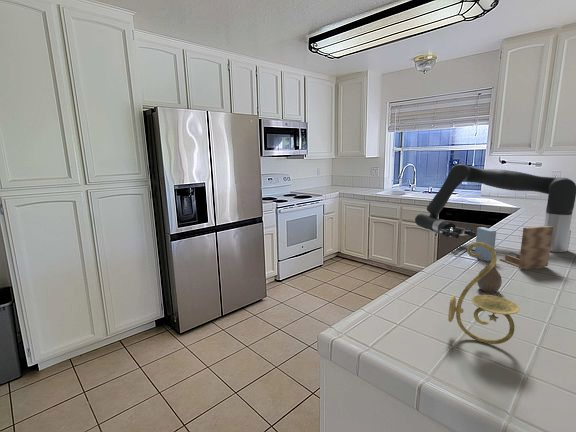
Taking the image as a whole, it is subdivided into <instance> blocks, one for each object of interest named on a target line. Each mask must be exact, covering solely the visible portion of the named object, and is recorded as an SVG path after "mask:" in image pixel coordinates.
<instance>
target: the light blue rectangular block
mask: <svg viewBox="0 0 576 432" xmlns="http://www.w3.org/2000/svg"><path fill="white" fill-rule="evenodd" d="M496 236H497V230H494V229H491V228H488V227H484V226H482V227H480V226H479V227H477V228H476V236H475V237H476V239H475V243H476V242H482V243H486V244H488V245H490V246H491V247H492V248H493V249H494V250H495V247H496V246H495V245H496V238H497V237H496ZM474 249H475V250H474V254H477V253H479V254H480V255H479V256H478V257H477V258H479V259H481V260H484V261H486V262H491V261H492V254H491V252H490V251H489V250H488V249H487V248H485V247H483V246H475V248H474Z"/></svg>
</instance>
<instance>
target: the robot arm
mask: <svg viewBox="0 0 576 432" xmlns="http://www.w3.org/2000/svg"><path fill="white" fill-rule="evenodd" d="M463 182H466V183H477V184H482V185H485V186H489V187H492V188H496V189H502V190H507V191H516V192H535V193H536V192H537V193H541V194H546V195H548V197H547V202H546V203H547V204H546V208H545V209H546V210H545V217H544V224H543V226H552V227H553V232H552V239H551V246H550V252H556V253H566V252H567V251H569V248H570V243H571V242H570V241H571V234H572V230H571V223H572V218H573V211H574V208H575V202H576V183H575V181H573V180H572V179H571V178H568V177H555V176H554V177H551V176H539V175H535V174H534V175H533V174H530V173H526V172H521V171H517V170H509V169H508V170H506V169H497V168H494V169H493V168H492V169H490V168H489V169H487V168H480V167H474V166H469V165H466V164H462V163H459V164H458V163H457V164H455V165H453V166H452V167H451V168H450V171H449V173H448V174H447V176H446V178H445V181H444V182H443V183H442V186H441V187H440V189H439V190H438V191H437V193H436V194H435V196H434V197H433V198H432V199H431V200H430V202H429V204H428V205H427V207H426V211H427V212H428V213H429V215H427V214H425V213H419V214H417V215H416V216H415V218H414V223H415V224H416V225H417V226H418V227H421V228H424V229H426V230H430V231H431V232H434V233H436V234H438V235H441V236H444V237H446V238H452V237H453V238H455V239H460V237H461V236H462V237H463V236H469V237H471V238H475V237H476V232H474V231H473V229H471V228H468V227H458V226H456V224H455V223H453V222H451V221H448V220H444V219H440V218H438V217H439V215H440V213H441V212H442V210H443V209H444V208H445V206H446V205H447V203H448V201H449V199H450V198H451V197H452V194H453V192H455V191H456V189H457V188H458V186H460V185H461V184H462V183H463Z"/></svg>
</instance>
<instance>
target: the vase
mask: <svg viewBox="0 0 576 432" xmlns="http://www.w3.org/2000/svg"><path fill="white" fill-rule="evenodd" d="M489 265H490V264H486V265H485V266H484V268H482V269H481V270H480V271H479V272H478V275H479V274H480V273H481V272H482V271H484V270H485V269H486V268H487V267H488V266H489ZM478 275H477V276H478ZM502 279H503V278H502V276H501V273H500V272H499V271H498V270H497V268H496V266H494V267H493V268H492V269H491V270H490V271H489V272H488V273H487V274H486V275H485V276H483V277H482V278H481V279H480V280H479V281H477V282H476V283H477V286H478V288H479V289H480V290H481V291H482V292H485V293H488V294H489V293H490V294H493V293H496V292H498V291H499V290H500V289H501V287H502V283H503V280H502Z"/></svg>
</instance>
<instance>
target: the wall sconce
mask: <svg viewBox="0 0 576 432" xmlns="http://www.w3.org/2000/svg"><path fill="white" fill-rule="evenodd" d="M476 246H483V247H485V248H487V249H488V250H489V251H490V252H491V254H492V261H490V263H489V264H488V265H489V266H488V267H487V268H486V269H485V270H484V271H482V272H481V273H480V274H479V273H478V274H479V275H476V276H475V277H474V278H473V279H472V280H471V281H470V282H469V283H467V285H466V286H465V288H463V290H462V292H461V293H460V295H459V298H458V301H457V299H456V298H457V297H456V295H454V294H453V295H451V298H450V302H449V307H448V316H447V317H448V318H447V319H448V322H449V323H450V322H451V323H452V322H453V320H454V318H455V317H456V322H457V325H458V326H459V328H460V329H461V330H462V331H463V333H464V334H465V335H467V336H468V337H470V338H471V339H473V340H475V341H477V342H479V343H480V342H481V343H483V342H484V344H488V345H490V344H491V345H498V344H499V345H500V344H503V343H506V342H508V341H509V340H510V339H512V337H513V336H514V333H515V322H514V319H513V318H512V316H511V315H515V314H517V313H519V311H520V306H519V305H518V304H517V303H516V302H514V301H512V300H510V299H508V298H505V297H502V296H497V295H491V294H480V295H479V294H478V295H474V296H472V298H471V302H472V304H473V305H474V306H476V307H477V308H476V309H474V312H473V318H474V320H475V322H477V323H478V324H479V325H482V326H483V325H484V326H488V325H489V324H490V322H488V321H487V320H482V319H480V318H479V313H480V312H484V311H486V312H489V313H492V314H488V315H487V316H488V318H489V321H494V322H495V323H497V319H499V318H500V317H498V316H496V314H497V315H503V316H504V317H505V318H506V320H507V321H508V325H509V329H508V333H507V334H506V335H505V336H504V337H502V338H499V339H486V338H483V337H479V336H478V335H475V334H473V333H472V332H471V331H469V330H468V329H467V328H466V327H465V326H464V324H463V321H462V319H461V318H462V317H461V314H463V313H464V310H465V309H464V308H463V307H462V304H463V301H464V299H465V298H466V295H467V294H468V292H469V290H471V289H472V287H473V286H475V284H476V283H477V281H479V280H480V279H481V278H482V277H483V276H485V275H486V274H487V273H488V272H489V271H490V270H491V269H492V268H493V267H494V266H495V265H496V264H497V258H498V257H497V252H496V250H495V248H494V249H493V248H492V247H491V246H490V245H488V244H486V243H482V242H476V241H475V242H472V243H471V244H470V245H468V246H467V249H466V253H467V255H468V256H469V257H471V258H478V256H479V255H480V254H479V253H477V254H475V253H473V252H472V249H473V248H474V247H476ZM495 267H496V266H495Z"/></svg>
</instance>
